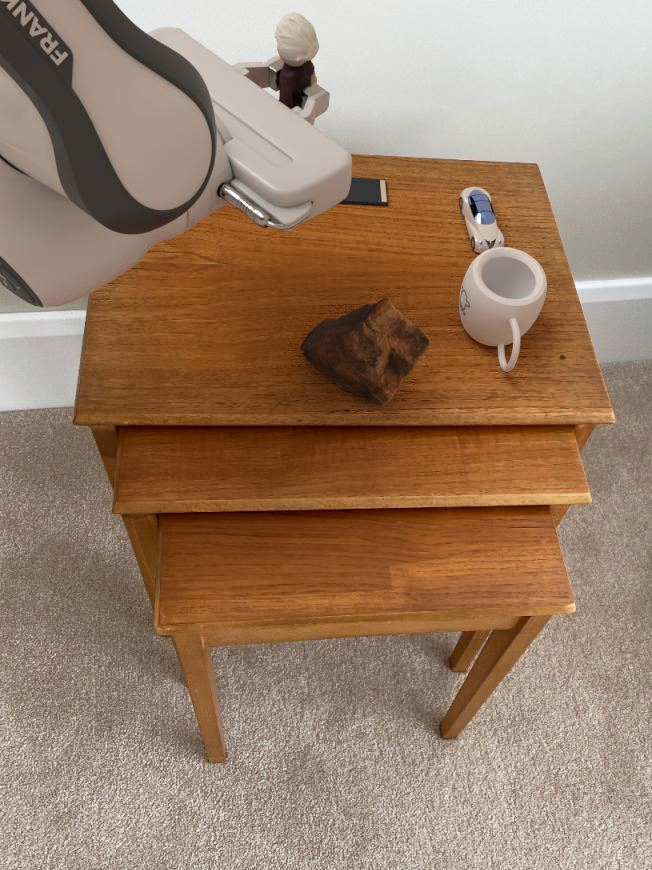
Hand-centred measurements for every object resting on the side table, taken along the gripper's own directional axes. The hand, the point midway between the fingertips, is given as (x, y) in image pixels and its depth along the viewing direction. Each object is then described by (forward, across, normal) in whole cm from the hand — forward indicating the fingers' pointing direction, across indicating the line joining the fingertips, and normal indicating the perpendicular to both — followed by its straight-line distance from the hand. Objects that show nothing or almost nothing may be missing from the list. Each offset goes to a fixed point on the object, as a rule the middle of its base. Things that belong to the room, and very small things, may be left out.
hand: (303, 81), depth 64 cm
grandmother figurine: (-1, 0, +7) cm, 7 cm away
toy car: (+20, -11, +22) cm, 32 cm away
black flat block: (+13, +5, +22) cm, 26 cm away
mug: (+9, -20, +22) cm, 32 cm away
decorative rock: (-5, -14, +22) cm, 27 cm away
